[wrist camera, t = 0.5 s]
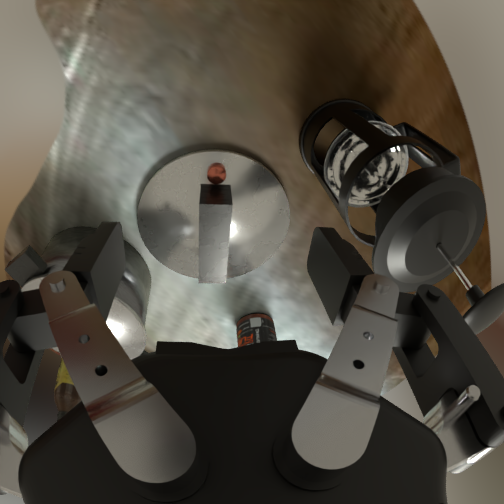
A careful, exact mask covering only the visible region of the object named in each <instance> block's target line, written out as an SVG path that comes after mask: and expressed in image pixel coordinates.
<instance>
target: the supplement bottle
mask: <svg viewBox="0 0 504 504" xmlns="http://www.w3.org/2000/svg"><path fill="white" fill-rule="evenodd" d="M262 341H277V338H276V332H275V327H274V322H273V320H272V319H271V318H270V317H269V316H267V315H265V314H250V315H247V316H244V317H243V318H241V319H240V320H239V321H238V323H237V342H238V347H241V346H246V345H250V344H254V343H258V342H262Z"/></svg>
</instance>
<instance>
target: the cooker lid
mask: <svg viewBox="0 0 504 504" xmlns="http://www.w3.org/2000/svg"><path fill="white" fill-rule="evenodd" d="M137 220H138V228H139V232H140V235H141V238H142V240H143V242H144V244H145V246H146V247H147V249H148V250H149V251H150V253H151V254H152V255H153V256H154V257H155V258H156V259H157V260H158V261H159V262H161V263H162V264H163V265H165V266H166V267H168V268H169V269H171V270H173V271H175V272H177V273H180V274H183V275H185V276H189V277H193V278H198V279H199V283H226V279H227V278H232V277H236V276H240V275H243V274H246V273H248V272H250V271H252V270H254V269H256V268H258V267H259V266H261V265H262V264H264V263H265V262H266V261H268V260H269V259H270V258H271V257H272V256H273V255H274V254H275V253H276V251H277V250H278V249H279V247H280V246H281V244H282V243H283V241H284V239H285V237H286V234H287V231H288V228H289V222H290V209H289V203H288V200H287V197H286V194H285V191H284V189H283V187H282V185H281V184H280V182H279V181H278V179H277V178H276V176H275V175H274V174H273V173H272V172H271V171H270V170H269V169H268V168H267V167H265V166H264V165H263V164H261V163H260V162H259V161H257V160H255V159H253V158H251V157H249V156H247V155H244V154H241V153H238V152H234V151H230V150H221V149H206V150H199V151H194V152H191V153H187V154H184V155H182V156H180V157H177V158H175V159H173V160H172V161H170V162H168V163H167V164H165V165H164V166H163V167H162V168H160V169H159V170H158V171H157V172H156V173H155V174H154V175H153V177H152V178H151V179H150V181H149V182H148V184H147V185H146V187H145V189H144V191H143V193H142V196H141V198H140V202H139V206H138V213H137Z"/></svg>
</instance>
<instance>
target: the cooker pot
mask: <svg viewBox="0 0 504 504" xmlns="http://www.w3.org/2000/svg"><path fill="white" fill-rule="evenodd" d="M96 230H97V228H91V227H74V228H69V229H66V230H64V231H62V232H60V233H58V234H57V235H56V236H54V237H53V238H52V240H51V241H50V242H49V244H48V246H47V248H46V249H45V251H44V253H43V255H42V257H40V256H39V255H38V254H37V253H36V252H35V251H34V250H33V249H32V247H31V246H30V245H29V246H28V247H27V248H25V249H24V250H23V251H22V252H21V253H19V254H18V255H17V256H16V257H15V258H13V259H12V260H11V261H10V262H9V263H8V265H7V267H6V268H5V271H6V272H7V273H8V274H9V275H10V276H11V277H12V278H13V279H14V280H15V281H17V282H18V283H19V285H20V286H21V287H22V288H21V290H22V292H23V291H29V290H34V289H39V285H40V283H41V281H42V280H43V279H44V278H45V277H46V276H47V275H49V274H51V273H53V272H57V271H62V270H63V268H64V266H65V265H66V263H67V262H68V260H69V259H70V257H71V256H72V254H73V252H74V251H75V249H77V246H78V245H79V244H80V242H81V241H82V240H83V239H84V238H85V237H87V236H88V235H90V234H94V233H95V232H96ZM123 243H124V251H125V270H124V273H123V275H122V278H121V281H120V283H119V286H118V289H117V292H116V294H115V297H114V300H113V303H112V306H111V309H110V312H109V315H108V318H107V321H106V323H107V325H108V326H109V328H110V329H111V331H112V333H113V334H114V336H115V337H116V339H117V340H118V342H119V343H120V345H121V346H122V348H123V349H124V351H125V352H126V354H127V355H128V356H129V358H130V359H131V360H132V359H134V358H136V357H138V356H141V355H144V354H147V353H148V352H146V351H145V350H144V348H145V345H146V336H147V335H146V330H145V321H146V314H147V308H148V301H149V295H150V289H151V275H150V271H149V269H148V266H147V264H146V263H145V261H144V259H143V258H142V257H141V255H140V254H139V253H138V252H137V251H136V250H135V249H134V248H133V247H132V246H131V245H130V244H128V243H127V242H126V241H124V240H123ZM52 349H54V350H56V351H58V352H59V349H58V347H55V348H52Z"/></svg>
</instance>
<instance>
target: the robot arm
mask: <svg viewBox="0 0 504 504" xmlns="http://www.w3.org/2000/svg"><path fill="white" fill-rule="evenodd" d="M307 269H308V273H309V275H310V277H311V280H312V282H313V284H314V286H315V288H316V290H317V292H318V294H319V297H320V299H321V301H322V303H323V305H324V307H325V309H326V312H327V314H328V316H329V318H330V320H331V323H332V325H333V326H338V325H344V326H343V329H342V331H341V333H340V335H339V337H338V339H337V342H336V344H335V346H334V348H333V350H332V352H331V354H330V356H329V358H328V359H326V358H324V357H322V356H319V355H317V354H314V353H311V352H308V351H303V350H298V347H297V344H296V341H295V340H283V341H262V342H258V343H254V344H250V345H246V346H241V347H237V348H233V349H222V348H217V347H212V346H207V345H202V344H197V343H192V342H161V341H157V346H156V352H151V353H147V354H144V355H141V356H138V357H136V358H134V359H132V360H131V359H130V358H129V356H128V355H127V354H126V352H125V351H124V349H123V348H122V346H121V345H120V343H119V342H118V340H117V339H116V337H115V336H114V334H113V333H112V331H111V329H110V328H109V326H108V325H107V323H106V321H107V318H108V315H109V312H110V309H111V306H112V303H113V300H114V297H115V294H116V292H117V289H118V286H119V283H120V281H121V278H122V275H123V273H124V270H125V251H124V243H123V235H122V227H121V224H120V222H102V223H101V225H100V226H99V227H98V229H97V230H96V232H95V233H94V234H90V235H88V236H87V237H85V238H84V239H83V240H82V241H81V242H80V244H79V245H78V246H77V249H75V251H74V252H73V254H72V256H71V257H70V259H69V260H68V262H67V263H66V265H65V266H64V268H63V270H62V271H57V272H53V273H51V274H49V275H47V276H46V277H45V278H44V279H43V280H42V281H41V283H40V285H39V289H34V290H29V291H23V292H22V290H21V288H20V285H19V283H18V282H17V281H15V280H6V281H3V282H0V495H3V494H6V493H11V494H13V495H16V496H19V497H21V498H23V500H24V503H25V504H447V497H446V473H447V472H448V471H449V472H451V473H460V472H462V471H464V470H465V469H467V468H468V467H470V466H471V465H473V464H474V463H476V462H477V461H479V460H480V459H482V458H483V457H484V456H486V455H487V454H488V453H490V452H491V451H492V450H494V449H495V448H496V447H498V446H499V445H500V444H501V443H503V442H504V378H503V377H502V375H501V373H500V372H499V370H498V368H497V367H496V365H495V364H494V362H493V360H492V359H491V358H490V356H489V354H488V353H487V351H486V350H485V348H484V347H483V346H482V344H481V342H480V341H479V339H478V338H477V336H476V335H475V334H474V332H473V331H472V329H471V328H470V327H469V325H468V324H467V322H466V321H465V320H464V318H463V317H462V316H461V314H460V313H459V312H458V310H457V309H456V308H455V306H454V305H453V304H452V302H451V301H450V300H449V298H448V297H447V296H446V295H445V293H444V292H443V291H441V290H440V289H438V288H437V287H435V286H432V285H428V284H422V285H420V286H419V287H418V289H417V291H416V293H415V295H414V294H408V293H403V292H399V288H398V286H397V284H396V283H395V282H394V281H392V280H391V279H389V278H388V277H385V276H383V275H379V274H374V272H373V271H372V270H371V268H370V267H369V266H368V264H367V263H366V262H365V260H364V259H363V258H362V256H361V255H360V254H358V251H357V250H356V249H355V247H354V246H353V245H352V244H350V243H349V242H347V241H346V240H344V239H342V238H341V237H340V235H339V234H338V233H337V232H336V230H335V229H334V228H326V227H316V228H315V230H314V232H313V237H312V241H311V246H310V251H309V255H308V260H307ZM431 333H432V335H433V336H434V338H435V340H436V341H437V343H438V347H439V351H438V355H437V357H436V358H435V357H434V356H433V354H432V352H431V350H430V349H429V347H428V345H427V343H426V341H427V339H428V338H429V336H430V335H431ZM7 337H8V339H9V341H10V345H9V347H8V350H7V352H6V354H5V357H4V359H3V354H2V349H3V345H4V343H5V341H6V338H7ZM55 347H58V349H59V352H60V354H61V357H62V359H63V361H64V364H65V366H66V368H67V371H68V373H69V375H70V377H71V379H72V382H73V384H74V386H75V388H76V390H77V392H78V394H79V396H80V398H81V401H80V402H79V403H78V404H77V405H76V406H74V407H73V408H72V409H71V410H70V411H69V412H67V413H66V414H65V415H64V416H63V417H62V418H61V419H59V420H58V421H57V422H56V423H55V424H54V425H52V426H51V427H50V428H49V429H48V430H47V431H45V432H44V433H43V434H42V435H41V436H40V437H38V439H36V440H35V441H34V442H33V443H32V444H31V445H30V446H29V447H28V437H27V434H26V432H25V430H24V428H23V424H24V419H25V415H26V411H27V407H28V403H29V399H30V395H31V391H32V388H33V385H34V381H35V378H36V374H37V371H38V368H39V365H40V362H41V359H42V356H43V353H44V350H45V349H48V348H55ZM392 349H393V351H394V353H395V355H396V357H397V359H398V361H399V363H400V365H401V367H402V369H403V372H404V374H405V376H406V378H407V380H408V382H409V384H410V387H411V389H412V391H413V393H414V396H415V398H416V400H417V402H418V405H419V407H420V409H421V411H422V414H423V416H424V421H423V423H421V422H420V421H418V420H417V419H415V418H414V417H412V416H411V415H409V414H407V413H406V412H404V411H403V410H401V409H400V408H398V407H397V406H395V405H394V404H392V403H391V402H389V401H388V400H386V399H385V398H383V397H382V396H380V394H381V390H382V387H383V383H384V379H385V376H386V372H387V368H388V364H389V360H390V356H391V352H392Z"/></svg>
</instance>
